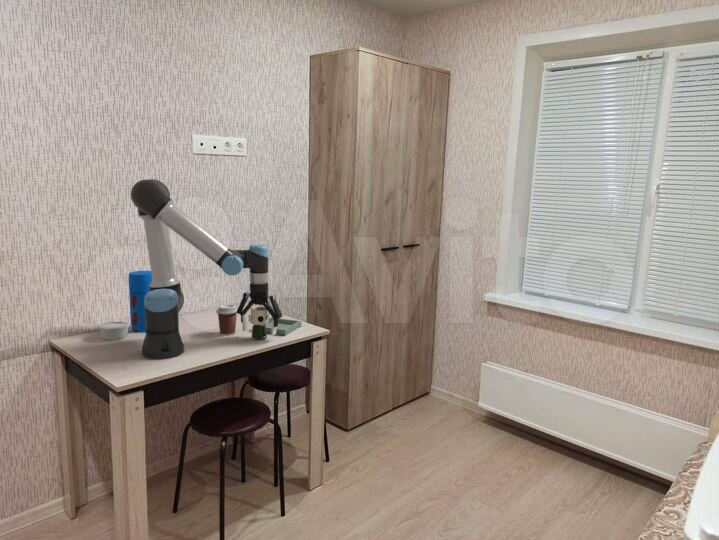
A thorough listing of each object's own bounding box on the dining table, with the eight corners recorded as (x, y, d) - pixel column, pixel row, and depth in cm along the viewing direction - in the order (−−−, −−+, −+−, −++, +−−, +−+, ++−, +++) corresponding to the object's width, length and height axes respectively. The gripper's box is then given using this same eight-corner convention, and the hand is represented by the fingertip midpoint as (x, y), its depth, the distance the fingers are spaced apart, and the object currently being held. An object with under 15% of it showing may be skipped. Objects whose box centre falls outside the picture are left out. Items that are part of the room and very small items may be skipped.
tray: (285, 335, 220) (285, 330, 220) (252, 331, 225) (252, 325, 225) (301, 326, 235) (301, 320, 235) (270, 322, 240) (270, 317, 240)
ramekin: (130, 332, 219) (129, 320, 218) (128, 340, 209) (127, 327, 208) (101, 334, 215) (100, 322, 214) (97, 342, 205) (97, 329, 204)
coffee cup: (217, 337, 215) (216, 309, 213) (216, 331, 224) (215, 304, 222) (239, 335, 218) (239, 308, 216) (237, 329, 227) (237, 303, 225)
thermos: (125, 331, 221) (122, 273, 216) (142, 324, 231) (140, 269, 226) (146, 333, 217) (144, 275, 213) (163, 327, 228) (161, 271, 223)
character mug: (254, 343, 209) (254, 312, 207) (243, 339, 213) (243, 309, 211) (274, 337, 217) (275, 307, 215) (264, 334, 222) (263, 304, 219)
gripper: (290, 283, 211) (290, 333, 214) (237, 278, 219) (238, 326, 222) (282, 286, 204) (281, 338, 207) (227, 281, 212) (228, 331, 215)
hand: (259, 332), depth 215 cm, fingers open, 13 cm apart
